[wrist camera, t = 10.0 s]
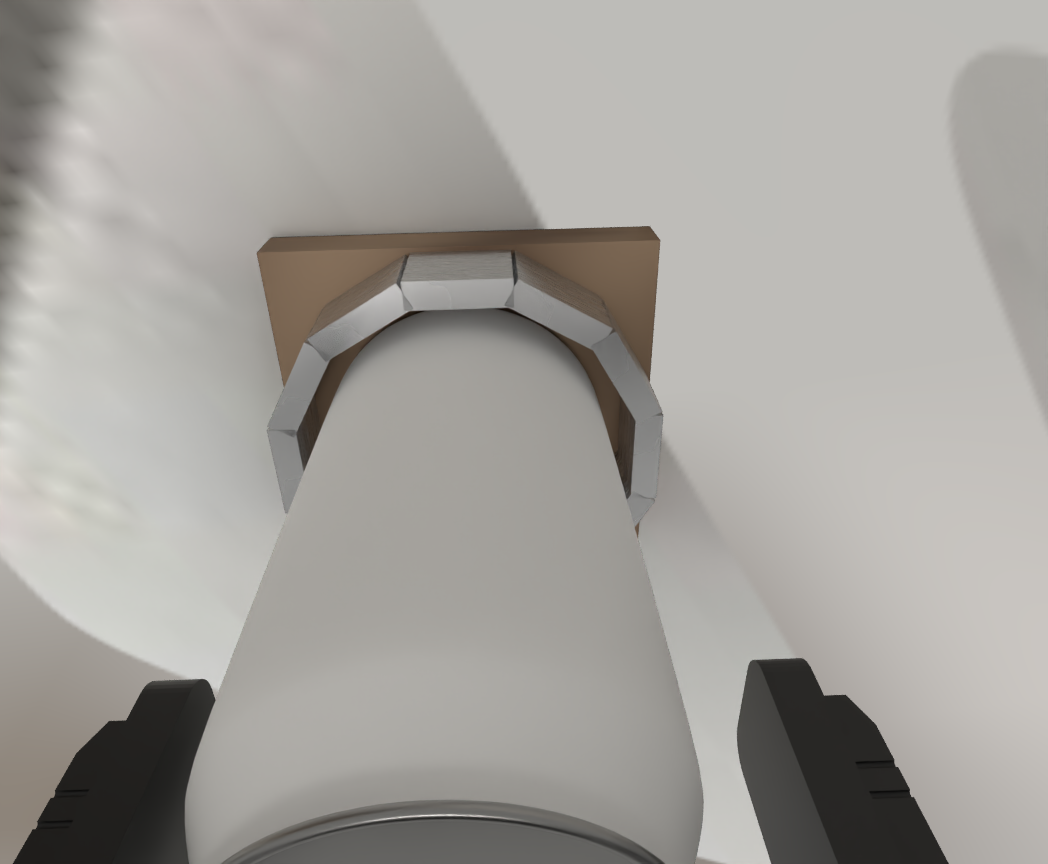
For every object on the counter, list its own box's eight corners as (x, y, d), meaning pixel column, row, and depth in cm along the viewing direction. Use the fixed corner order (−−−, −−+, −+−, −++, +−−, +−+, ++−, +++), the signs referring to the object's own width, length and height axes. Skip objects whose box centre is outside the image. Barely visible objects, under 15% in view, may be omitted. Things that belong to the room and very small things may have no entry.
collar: (655, 244, 16) (675, 273, 14) (633, 550, 20) (647, 600, 19) (262, 257, 16) (235, 287, 14) (323, 564, 20) (308, 615, 18)
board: (649, 226, 17) (660, 239, 16) (629, 527, 22) (636, 553, 21) (270, 237, 17) (256, 252, 16) (328, 539, 21) (320, 566, 20)
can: (327, 290, 16) (49, 782, 6) (614, 304, 17) (817, 784, 6) (343, 523, 20) (181, 1103, 9) (583, 529, 20) (686, 1090, 10)
